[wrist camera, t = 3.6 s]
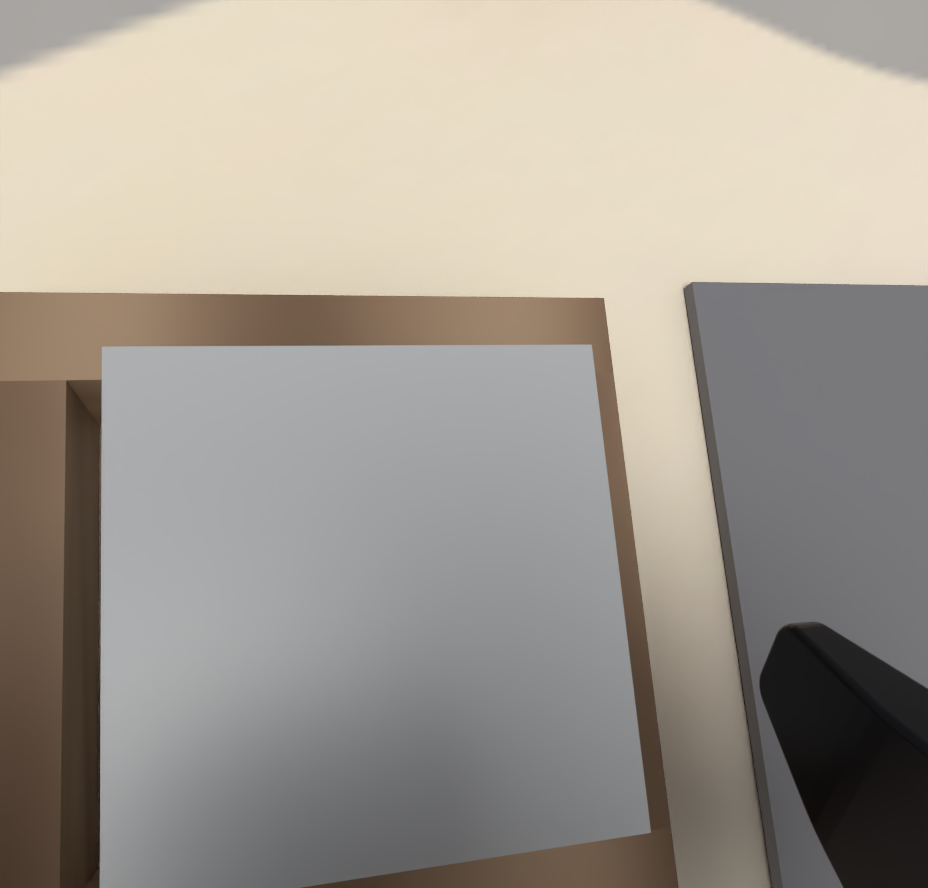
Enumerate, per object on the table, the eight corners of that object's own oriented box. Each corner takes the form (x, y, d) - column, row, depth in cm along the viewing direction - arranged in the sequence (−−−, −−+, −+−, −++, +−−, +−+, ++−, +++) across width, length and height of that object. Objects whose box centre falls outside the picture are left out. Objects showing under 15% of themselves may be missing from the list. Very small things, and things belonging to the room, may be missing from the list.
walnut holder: (552, 349, 19) (603, 298, 16) (611, 876, 17) (682, 924, 14) (16, 352, 16) (-35, 291, 14) (0, 979, 14) (-65, 1064, 11)
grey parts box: (432, 486, 18) (591, 344, 9) (451, 735, 17) (650, 832, 8) (181, 498, 17) (101, 346, 8) (185, 767, 16) (100, 919, 7)
